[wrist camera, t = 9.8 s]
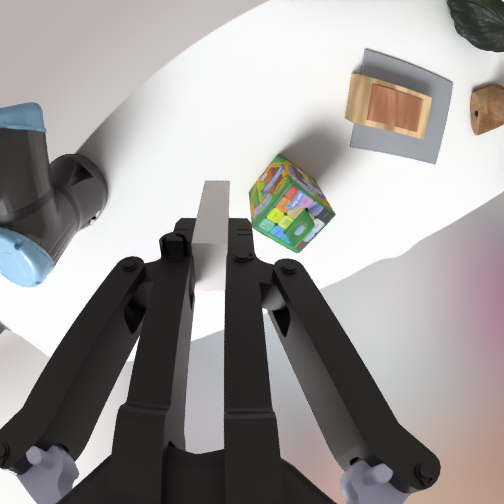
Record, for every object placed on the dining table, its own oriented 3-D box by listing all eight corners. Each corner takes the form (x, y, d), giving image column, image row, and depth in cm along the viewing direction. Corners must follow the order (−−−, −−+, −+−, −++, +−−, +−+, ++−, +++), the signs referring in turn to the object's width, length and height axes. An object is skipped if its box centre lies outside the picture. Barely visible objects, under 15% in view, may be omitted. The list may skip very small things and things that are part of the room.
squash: (489, -19, 14) (507, -18, 8) (513, 44, 22) (534, 63, 16) (433, -15, 24) (436, -14, 19) (461, 45, 32) (469, 63, 27)
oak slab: (354, 123, 37) (424, 140, 38) (362, 75, 32) (433, 98, 34) (345, 118, 41) (411, 133, 42) (351, 73, 36) (419, 94, 37)
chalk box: (278, 153, 45) (295, 189, 33) (318, 182, 48) (345, 226, 37) (246, 193, 49) (250, 241, 37) (286, 218, 53) (301, 270, 41)
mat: (349, 146, 44) (350, 147, 44) (364, 49, 33) (365, 49, 33) (433, 163, 46) (435, 164, 45) (451, 82, 35) (453, 83, 35)
